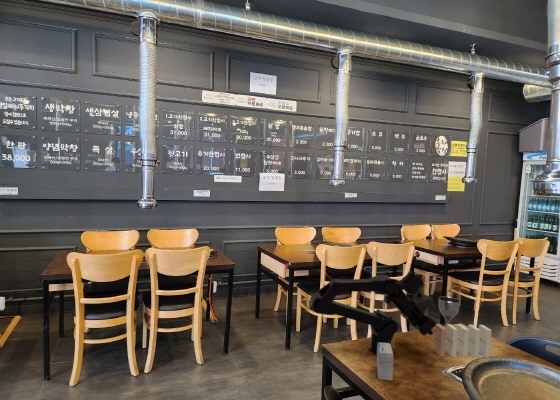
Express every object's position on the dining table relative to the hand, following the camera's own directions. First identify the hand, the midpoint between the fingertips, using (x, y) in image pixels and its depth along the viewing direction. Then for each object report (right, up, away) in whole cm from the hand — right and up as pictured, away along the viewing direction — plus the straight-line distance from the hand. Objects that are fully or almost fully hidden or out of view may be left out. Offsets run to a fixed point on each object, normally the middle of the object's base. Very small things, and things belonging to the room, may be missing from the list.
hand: (431, 333), depth 130 cm
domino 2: (+7, -8, +1) cm, 10 cm away
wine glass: (+14, -7, +18) cm, 24 cm away
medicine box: (-22, -7, -16) cm, 28 cm away
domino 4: (+16, -8, +1) cm, 17 cm away
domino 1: (+3, -7, 0) cm, 8 cm away
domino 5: (+20, -8, +1) cm, 21 cm away
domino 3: (+11, -8, +1) cm, 14 cm away
